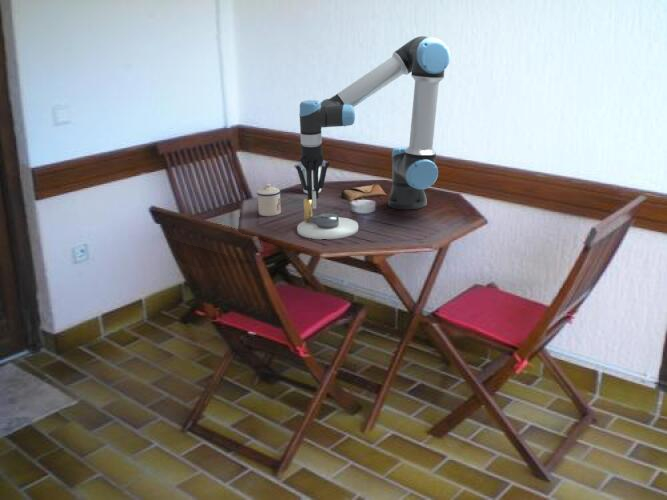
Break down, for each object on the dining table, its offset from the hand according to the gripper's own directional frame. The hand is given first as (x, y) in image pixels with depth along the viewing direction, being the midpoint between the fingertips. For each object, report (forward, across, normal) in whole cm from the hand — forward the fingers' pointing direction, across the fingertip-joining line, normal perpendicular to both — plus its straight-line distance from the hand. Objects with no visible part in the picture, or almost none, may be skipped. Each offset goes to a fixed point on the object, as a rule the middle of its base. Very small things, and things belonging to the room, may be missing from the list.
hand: (313, 207), depth 287 cm
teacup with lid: (+7, +11, -22) cm, 26 cm away
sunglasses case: (+8, -31, -27) cm, 42 cm away
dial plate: (+6, -2, +10) cm, 12 cm away
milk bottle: (+8, -14, -43) cm, 46 cm away
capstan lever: (+4, 0, +7) cm, 8 cm away
